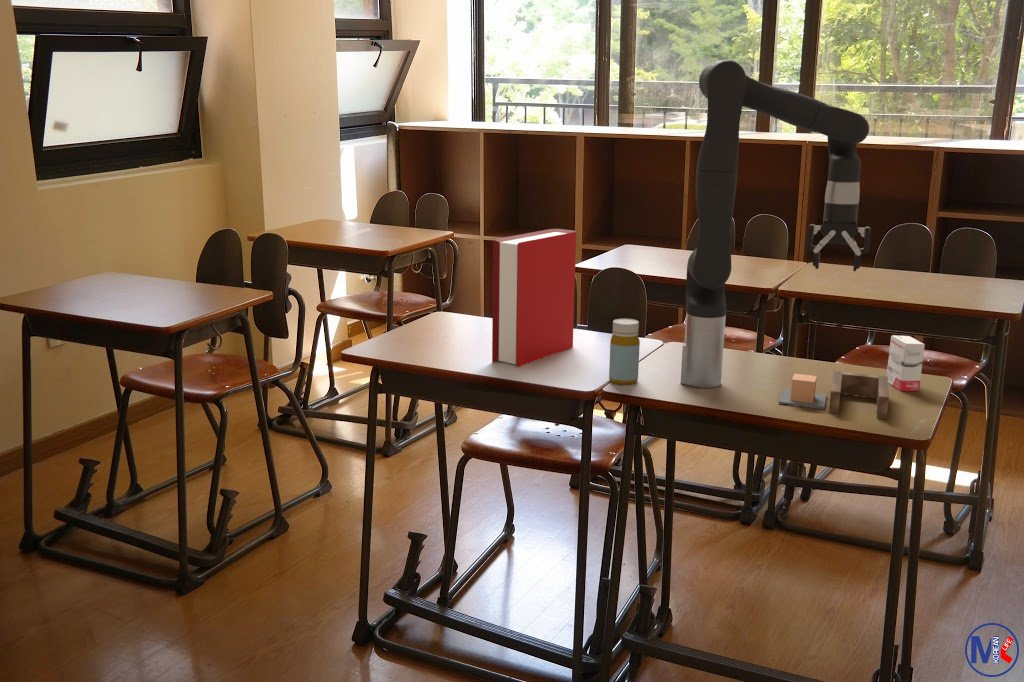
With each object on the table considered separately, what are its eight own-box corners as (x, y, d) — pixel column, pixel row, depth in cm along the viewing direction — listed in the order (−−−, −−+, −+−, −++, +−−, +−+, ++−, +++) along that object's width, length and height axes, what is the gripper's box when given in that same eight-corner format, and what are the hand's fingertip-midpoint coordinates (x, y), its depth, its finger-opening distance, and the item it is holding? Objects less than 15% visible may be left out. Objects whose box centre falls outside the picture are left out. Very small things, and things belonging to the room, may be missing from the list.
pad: (778, 404, 219) (778, 401, 219) (782, 391, 228) (782, 389, 228) (824, 409, 216) (824, 406, 216) (826, 396, 225) (826, 394, 225)
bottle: (613, 376, 239) (616, 317, 236) (641, 379, 237) (643, 319, 233) (605, 383, 233) (607, 323, 229) (633, 387, 231) (636, 326, 227)
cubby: (828, 412, 214) (830, 391, 213) (831, 391, 229) (833, 371, 228) (886, 419, 210) (888, 397, 209) (885, 397, 226) (887, 376, 224)
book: (516, 367, 246) (518, 242, 238) (492, 362, 250) (493, 239, 242) (575, 346, 267) (579, 231, 259) (551, 341, 272) (554, 228, 264)
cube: (790, 400, 220) (792, 379, 219) (792, 394, 225) (794, 373, 223) (812, 403, 218) (814, 381, 217) (814, 396, 223) (816, 376, 222)
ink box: (920, 391, 230) (926, 343, 227) (900, 391, 230) (905, 343, 227) (904, 381, 239) (909, 334, 236) (884, 381, 238) (889, 334, 235)
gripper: (874, 200, 226) (867, 269, 230) (811, 198, 231) (805, 265, 235) (874, 204, 219) (867, 274, 223) (808, 201, 224) (803, 270, 228)
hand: (835, 269), depth 229 cm, fingers open, 8 cm apart
